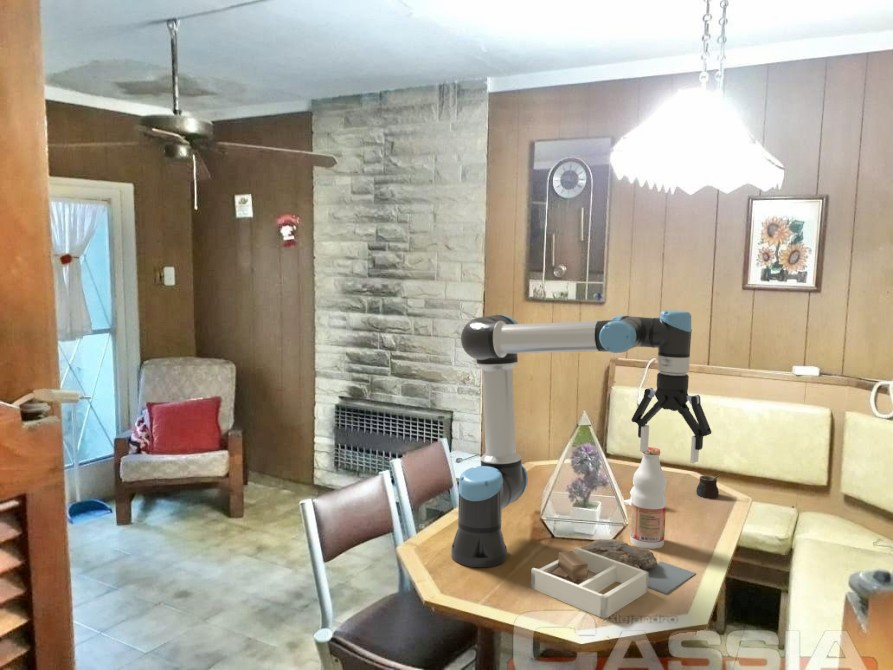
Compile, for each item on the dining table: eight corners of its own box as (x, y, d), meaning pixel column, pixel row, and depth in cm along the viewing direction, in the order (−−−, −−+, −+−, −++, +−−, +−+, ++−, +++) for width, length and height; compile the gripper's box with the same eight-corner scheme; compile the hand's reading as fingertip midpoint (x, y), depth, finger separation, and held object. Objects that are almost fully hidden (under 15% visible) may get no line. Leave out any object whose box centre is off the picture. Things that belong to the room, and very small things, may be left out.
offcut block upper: (572, 579, 172) (572, 565, 172) (558, 565, 180) (558, 552, 180) (587, 577, 174) (587, 563, 173) (572, 564, 181) (573, 550, 181)
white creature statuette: (616, 508, 233) (617, 472, 232) (631, 502, 239) (632, 467, 238) (641, 515, 226) (643, 479, 225) (656, 509, 232) (657, 474, 231)
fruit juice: (623, 541, 205) (627, 446, 202) (647, 536, 209) (652, 443, 206) (645, 553, 197) (650, 455, 194) (671, 547, 201) (675, 451, 198)
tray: (530, 588, 174) (531, 568, 174) (575, 565, 188) (576, 547, 188) (604, 619, 160) (605, 597, 159) (647, 591, 174) (648, 572, 173)
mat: (629, 581, 179) (629, 579, 179) (660, 563, 190) (660, 561, 190) (666, 594, 172) (666, 592, 172) (696, 574, 183) (696, 573, 183)
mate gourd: (694, 496, 246) (695, 468, 245) (717, 497, 245) (718, 469, 244) (697, 503, 239) (698, 474, 238) (721, 504, 238) (722, 475, 237)
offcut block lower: (550, 586, 176) (551, 572, 176) (565, 575, 183) (565, 562, 182) (565, 590, 174) (565, 577, 174) (579, 579, 180) (579, 566, 180)
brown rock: (668, 567, 187) (602, 546, 201) (669, 549, 187) (603, 529, 201) (642, 583, 177) (575, 560, 191) (643, 564, 177) (575, 542, 191)
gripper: (620, 368, 182) (616, 448, 184) (715, 381, 164) (710, 470, 167) (635, 365, 187) (631, 444, 189) (728, 377, 170) (723, 464, 172)
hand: (668, 456), depth 178 cm, fingers open, 13 cm apart
